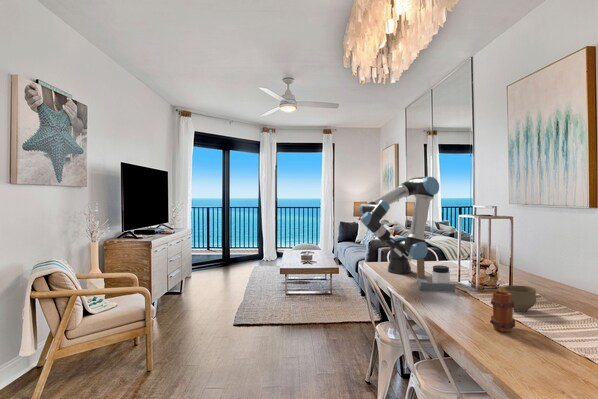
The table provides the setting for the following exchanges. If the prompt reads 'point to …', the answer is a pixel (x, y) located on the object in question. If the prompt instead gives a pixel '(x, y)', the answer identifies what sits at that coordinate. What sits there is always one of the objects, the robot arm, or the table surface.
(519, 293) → the bowl
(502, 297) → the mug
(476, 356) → the table surface
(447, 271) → the jar
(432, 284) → the pull strip
